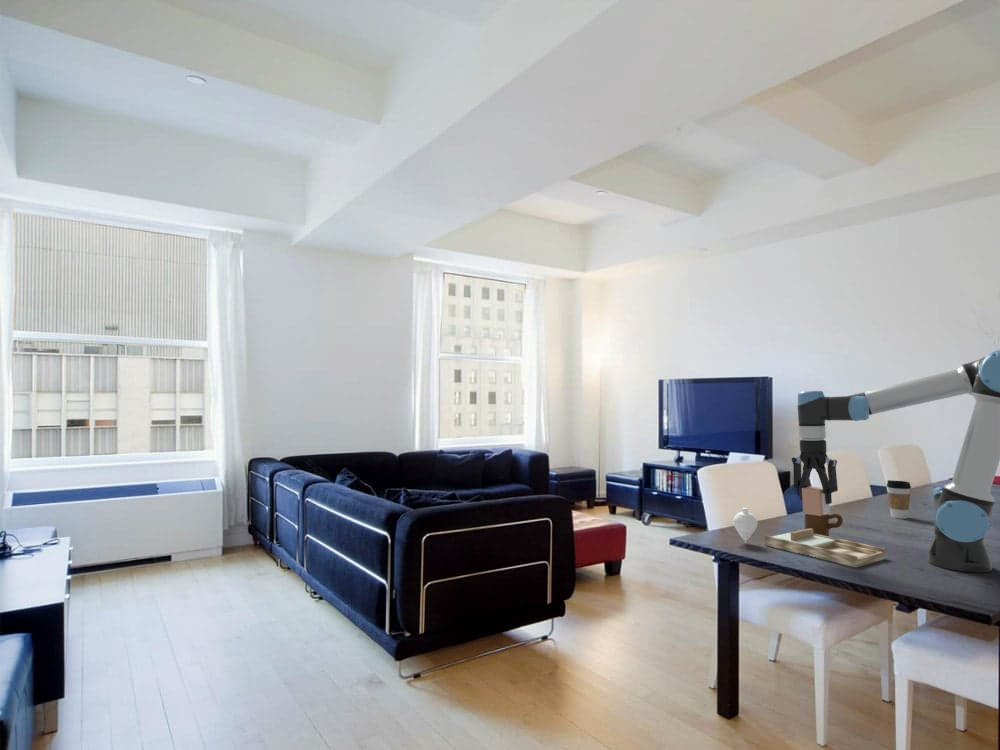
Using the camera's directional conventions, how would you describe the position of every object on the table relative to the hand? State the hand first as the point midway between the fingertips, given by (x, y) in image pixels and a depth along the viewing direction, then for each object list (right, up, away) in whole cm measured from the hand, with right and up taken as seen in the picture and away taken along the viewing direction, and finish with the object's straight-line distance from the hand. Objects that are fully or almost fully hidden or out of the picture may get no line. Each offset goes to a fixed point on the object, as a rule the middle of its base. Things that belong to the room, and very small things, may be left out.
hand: (816, 512), depth 187 cm
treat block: (0, 0, 0) cm, 0 cm away
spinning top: (-16, -14, +16) cm, 27 cm away
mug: (+15, -15, +23) cm, 31 cm away
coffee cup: (+65, -15, +57) cm, 87 cm away
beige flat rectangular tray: (+5, -14, +5) cm, 15 cm away
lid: (+1, -12, +11) cm, 16 cm away
